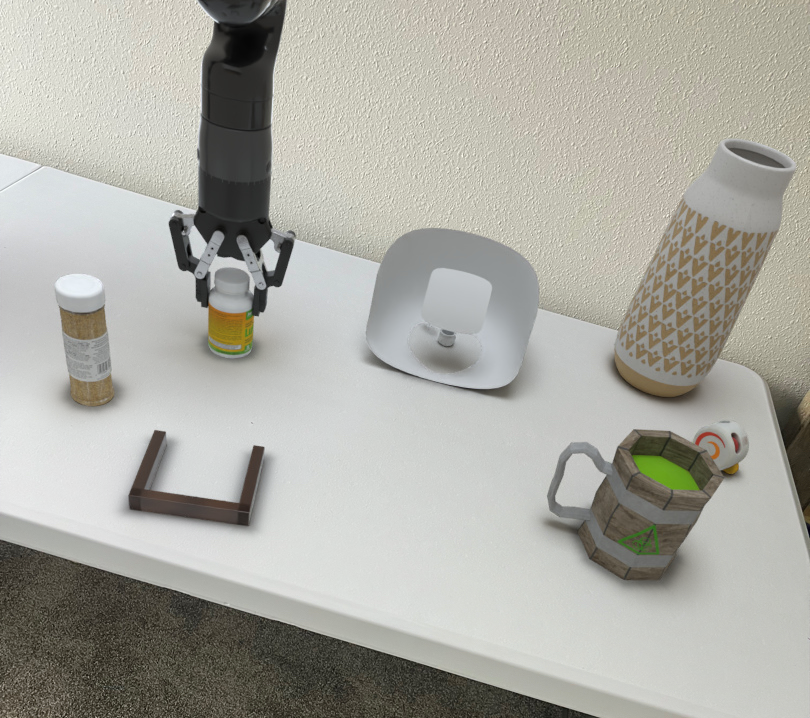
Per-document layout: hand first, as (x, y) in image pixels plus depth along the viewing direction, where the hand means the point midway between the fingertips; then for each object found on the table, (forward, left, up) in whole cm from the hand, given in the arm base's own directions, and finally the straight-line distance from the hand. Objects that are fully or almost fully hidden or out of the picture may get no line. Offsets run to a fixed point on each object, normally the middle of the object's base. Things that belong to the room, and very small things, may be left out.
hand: (231, 308), depth 93 cm
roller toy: (+61, -8, -6) cm, 62 cm away
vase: (+57, +10, -6) cm, 59 cm away
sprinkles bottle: (-13, -14, -6) cm, 19 cm away
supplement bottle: (0, 0, -6) cm, 6 cm away
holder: (+1, -25, -5) cm, 25 cm away
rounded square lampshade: (+27, +9, -6) cm, 29 cm away
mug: (+44, -25, -6) cm, 51 cm away
